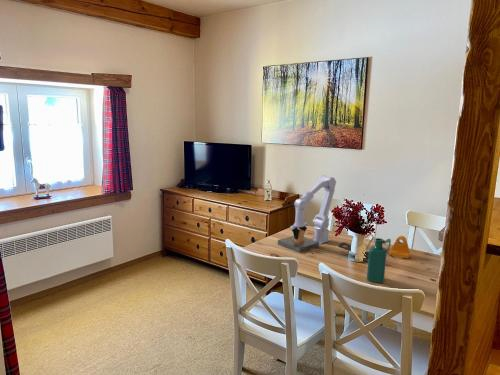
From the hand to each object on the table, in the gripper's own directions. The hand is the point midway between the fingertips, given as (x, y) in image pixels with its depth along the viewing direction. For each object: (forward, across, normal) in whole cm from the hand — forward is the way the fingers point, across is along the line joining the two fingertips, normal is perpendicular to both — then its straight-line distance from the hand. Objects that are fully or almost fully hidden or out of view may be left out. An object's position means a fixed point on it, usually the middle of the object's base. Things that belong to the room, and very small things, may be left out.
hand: (298, 238), depth 245 cm
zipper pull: (+5, -12, +37) cm, 39 cm away
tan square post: (+2, 0, 0) cm, 3 cm away
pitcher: (+5, +7, +60) cm, 61 cm away
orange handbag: (+5, -36, +50) cm, 62 cm away
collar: (+5, 0, 0) cm, 5 cm away
